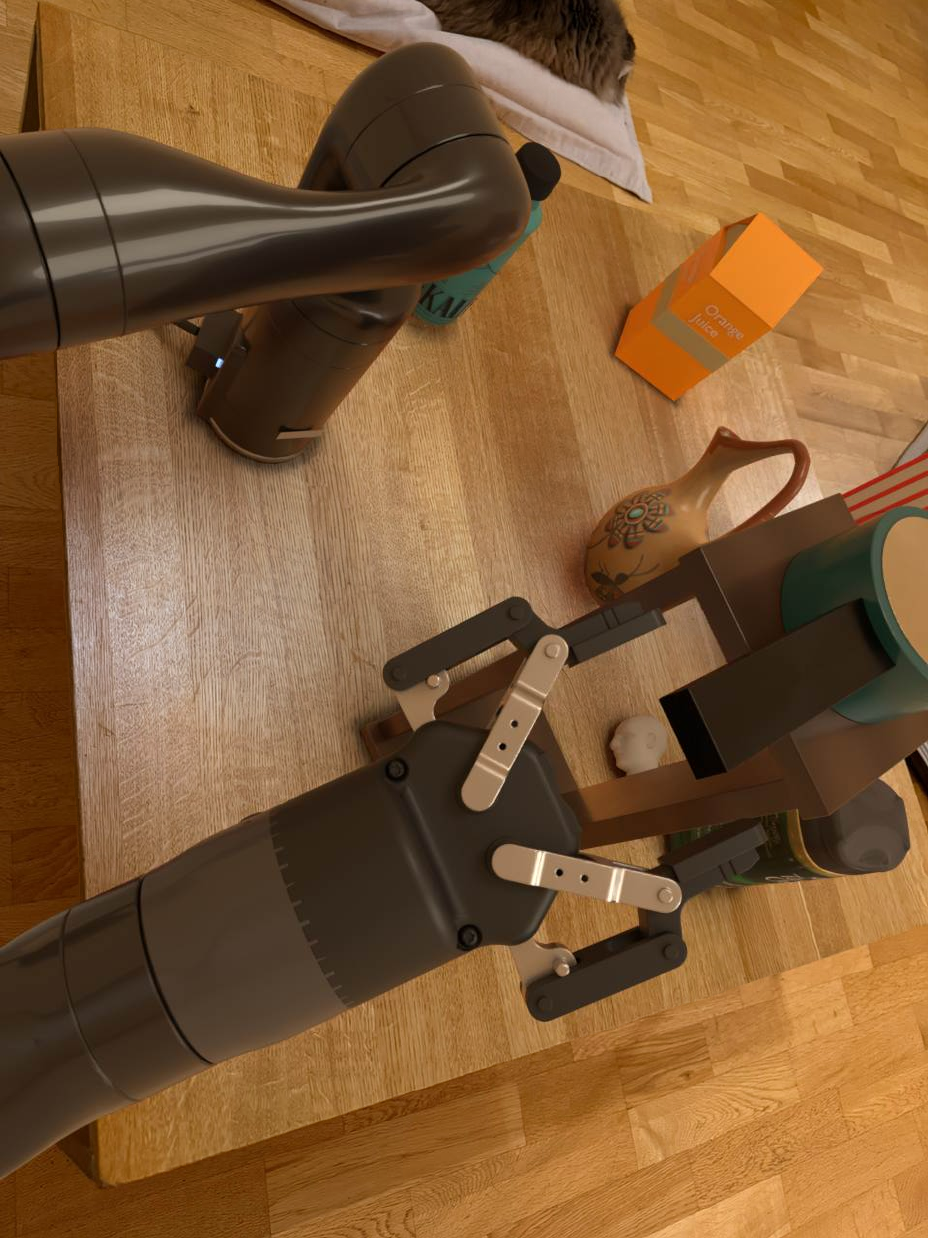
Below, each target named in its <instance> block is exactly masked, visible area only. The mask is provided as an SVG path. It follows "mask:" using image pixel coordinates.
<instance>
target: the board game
mask: <svg viewBox="0 0 928 1238" xmlns="http://www.w3.org/2000/svg"><path fill="white" fill-rule="evenodd" d="M841 495H842V497H843V499H844V501H845V503H846V505H847V507H848V508H849V510H850V512H851V514H852V516H853V518H854V520H855V522H856V524H857V525H858V524H860V523H863V522H865V521H867V520H869V519H871V518H873V517H875V516H877V515H880V514H882V513H884V512H886V511H888V510H890V509H892V508H895V507H899V506H914V507H919V508H922V509H925V510H927V511H928V451H927V452H925V453H923V454H921V455H919V456H917V457H915V458H913V459H911V460H909V461H907V462H904V463H903V464H900V465H898V466H896V467H894V468H892V469H890V470H888V471H887V472H885V473H882V474H880V475H878V476H876V477H874V478H872V479H870V480H868V481H867V482H864V483H862V484H861V485H858V486H857V487H854V488H852V489H851V490H847V491H846V492H844V493H841Z"/></svg>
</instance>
